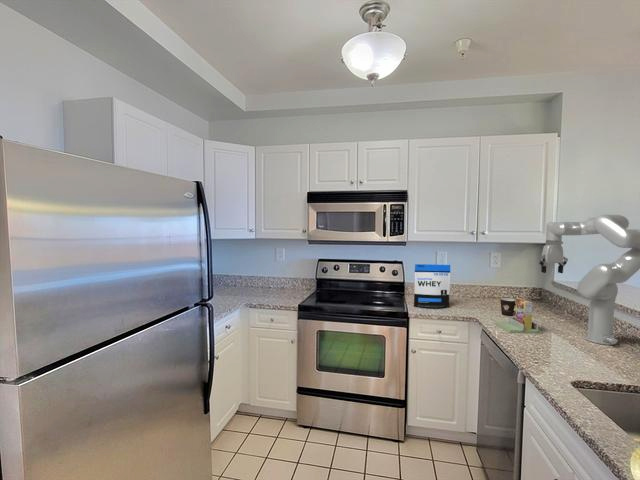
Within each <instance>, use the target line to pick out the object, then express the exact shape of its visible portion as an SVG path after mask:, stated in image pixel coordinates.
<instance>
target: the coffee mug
mask: <svg viewBox="0 0 640 480" xmlns="http://www.w3.org/2000/svg"><path fill="white" fill-rule="evenodd" d="M499 300H500V301H499V302H500V309H501V310H500V312H501V315H502V316H503V317H504V316H506V317H513V316H514V313H516V309H515V308H516V299H515V298H509V297H501V298H500V299H499Z"/></svg>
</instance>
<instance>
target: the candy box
mask: <svg viewBox="0 0 640 480" xmlns="http://www.w3.org/2000/svg"><path fill="white" fill-rule="evenodd" d="M515 300H516V301H515V303H516V305H515V310H516V311H515V317H516V321H518V322H520V323H522V324H524V329H528V330H531V327H532V322H533V321H532V320H533V301H531V300H527V299H525V298H524V297H516V298H515Z"/></svg>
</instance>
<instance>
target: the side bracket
mask: <svg viewBox="0 0 640 480" xmlns="http://www.w3.org/2000/svg"><path fill="white" fill-rule="evenodd" d="M508 322H509V324H511V325H513V326H515V327H516V328H518V329H520V330H522V331H524V324H522V323H520V322H518V321H516V316H515V317H513V316H508ZM531 328H532V329H534V330H536V331H538V329H539V324H538V323H536V322H534V321H532V327H531Z"/></svg>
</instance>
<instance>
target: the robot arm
mask: <svg viewBox="0 0 640 480" xmlns="http://www.w3.org/2000/svg"><path fill="white" fill-rule="evenodd" d="M629 225H630V221H629V219H628V218H627V217H625V216H624V215H620V214H602V215H599V216H597V217H589V218H588V219H586V220H585V221H584V220H583V221H559V222H552V221H551V222H548V223H546V230H545V231H546V232H545V245H543V248H542V251H541V255H540V257H537V258H536V259H537V262H538V264H539V265H540V266H541V267H540V270H541V271H540V272H541V273H543V274H546V273H547V265H548V264H557V265H558V267H557V273H559V274H563V273H564V267H565V266H566V264H567V262H568V261H569V258H567V257H566V256H564V248H563V246H562V245H563V244H564V241H562V239H563V236H586V235H587V236H589V235H600V236H602V237H603V238H605V239H606V240H607V241H608V242H610V243H611V244H613V246H616V247H618V248H622V249H629V250H627V251H626V252H624V253H623V254H621V255H620V257H618V259H616V260H614V262H611V263H600V264H597V265H595V266H594V267H592V268H591V269H590V271H588V272H587V273H586V274H585V275H584V276H583V277H582V278H581V279H580V281H579V282H578V283H577V287H576V290H577V293H578V294H579V295H580V296H581V297H583V298H586V299H590V301H589V305H588V306H589V307H588V319H587V320H588V323H587V324H588V325H587V334H584V335H583V339H585V341H588V342H591V343H595V344H599V345H607V346H612V345H613V346H614V345H617V343H618V341H619V340H618V339H616V338H615V335H614V334H613V332H614V315H615V304H616V303H615V302H616V299H617V295H618V293H619V292H618V289H619V288H618V284H622V283H623V284H624V283H626V282H627V281H628V280H630V279H631V278H632V277H633V276H634V275H635V274H636V273H638V271H639V270H640V229H637V228H636V229H632V228H631V229H629V228H628V227H629Z"/></svg>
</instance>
